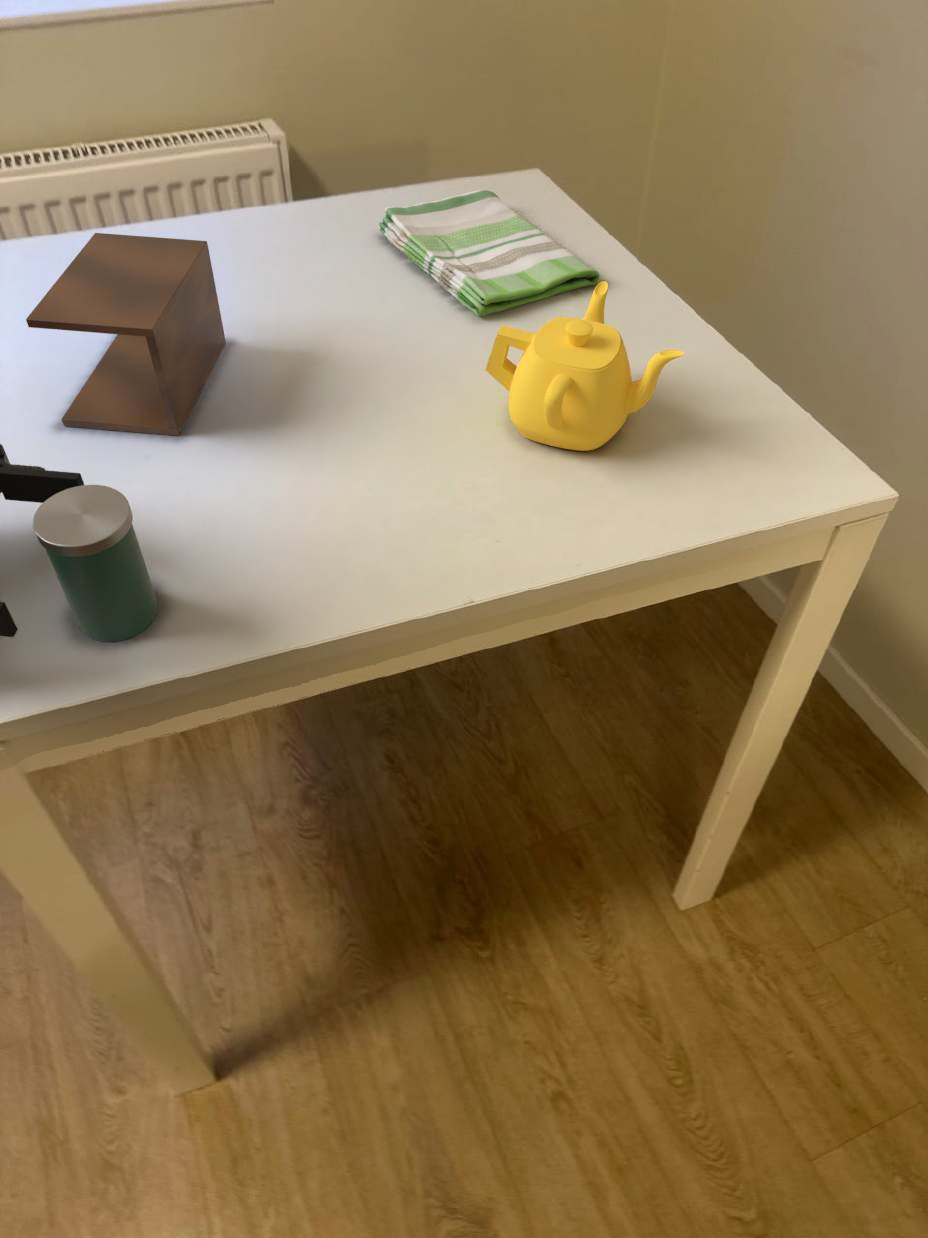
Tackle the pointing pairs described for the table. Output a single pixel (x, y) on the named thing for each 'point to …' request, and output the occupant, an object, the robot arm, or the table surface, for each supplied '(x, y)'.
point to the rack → (139, 329)
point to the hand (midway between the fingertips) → (49, 550)
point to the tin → (97, 561)
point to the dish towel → (484, 251)
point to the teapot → (572, 378)
